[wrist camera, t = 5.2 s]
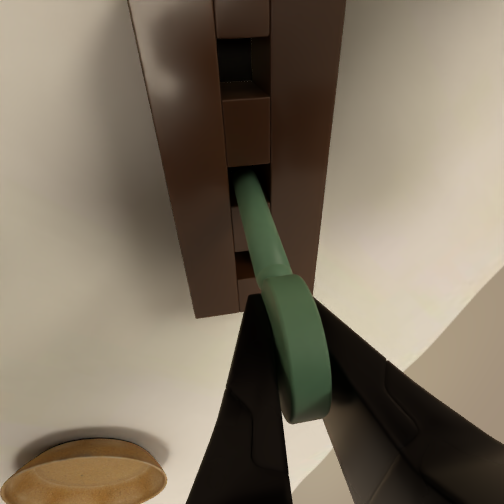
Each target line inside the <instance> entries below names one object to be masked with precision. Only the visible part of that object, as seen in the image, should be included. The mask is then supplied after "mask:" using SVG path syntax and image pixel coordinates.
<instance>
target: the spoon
mask: <svg viewBox="0 0 504 504" xmlns="http://www.w3.org/2000/svg"><path fill="white" fill-rule="evenodd" d="M233 187H234V191H235V195H236V199H237V203H238V207H239V211H240V215H241V220H242V224H243V228H244V232H245V236H246V240H247V244H248V249H249V253H250V257H251V261H252V265H253V269H254V273H255V277H256V282H257V284H258V287H259V288H260V289H261V295H262V299H263V302H264V305H265V308H266V311H267V314H268V317H269V320H270V323H271V328H272V336H273V344H274V353H275V361H276V370H277V378H278V387H279V395H280V404H281V411H282V413H283V415H284V417H285V419H286V421H287V422H288V423H290V424H296V423H302V422H307V421H312V420H317V419H322V418H324V417H325V416H327V415H328V413H329V411H330V407H331V400H332V378H331V367H330V359H329V353H328V347H327V342H326V337H325V333H324V329H323V325H322V322H321V318H320V315H319V312H318V309H317V306H316V303H315V301H314V298H313V296H312V294H311V292H310V290H309V288H308V286H307V284H306V283H305V281H304V280H303V279H302V278H301V277H300V276H299V275H296V274H293V273H292V270H291V267H290V264H289V262H288V259H287V256H286V254H285V251H284V248H283V245H282V243H281V240H280V237H279V235H278V232H277V229H276V226H275V224H274V221H273V218H272V216H271V213H270V210H269V207H268V205H267V202H266V199H265V197H264V194H263V191H262V189H261V186H260V183H259V180H258V178H257V175H256V174H255V172H254V171H253V170H251V169H249V168H242V169H239V170H238V171H236V173H235V174H234V176H233Z"/></svg>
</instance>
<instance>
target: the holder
mask: <svg viewBox="0 0 504 504" xmlns="http://www.w3.org/2000/svg"><path fill="white" fill-rule="evenodd" d="M127 2H128V7H129V11H130V16H131V21H132V25H133V30H134V34H135V39H136V44H137V48H138V53H139V58H140V62H141V67H142V72H143V76H144V81H145V86H146V90H147V95H148V100H149V104H150V109H151V113H152V118H153V123H154V127H155V132H156V137H157V141H158V146H159V151H160V155H161V160H162V165H163V169H164V174H165V178H166V183H167V188H168V192H169V197H170V202H171V206H172V211H173V216H174V220H175V225H176V230H177V234H178V239H179V243H180V248H181V253H182V257H183V262H184V267H185V271H186V276H187V281H188V285H189V290H190V295H191V299H192V304H193V309H194V313H195V318H196V319H198V318H205V317H212V316H218V315H225V314H232V313H239V312H244V310H245V306H246V302H247V298H248V295H251V294H257V293H260V294H261V289H260V288H259V287H258V284H257V282H256V277H255V273H254V269H253V265H252V261H251V257H250V253H249V249H248V244H247V240H246V236H245V232H244V228H243V224H242V220H241V215H240V211H239V207H238V203H237V199H236V195H235V191H234V187H233V176H234V174H235V173H236V171H238V170H232V171H228V170H227V167H237V166H248V165H255V169H254V168H253V169H251V170H253V171H254V172H255V174H256V175H257V178H258V180H259V183H260V186H261V189H262V191H263V194H264V197H265V199H266V202H267V205H268V207H269V210H270V213H271V216H272V218H273V221H274V224H275V226H276V229H277V232H278V235H279V237H280V240H281V243H282V245H283V248H284V251H285V254H286V256H287V259H288V262H289V264H290V267H291V270H292V273H293V274H296V275H299V276H300V277H301V278H302V279H303V280H304V281H305V283H306V284H307V286H308V288H309V290H310V292H311V294H312V296H313V288H314V279H315V270H316V261H317V253H318V244H319V235H320V226H321V218H322V209H323V200H324V191H325V183H326V174H327V165H328V156H329V147H330V139H331V130H332V121H333V112H334V104H335V95H336V86H337V77H338V69H339V60H340V51H341V42H342V33H343V25H344V16H345V7H346V0H127ZM216 38H217V39H236V38H251V61H252V81H251V80H247V81H232V82H220V78H219V66H218V55H217V43H216Z"/></svg>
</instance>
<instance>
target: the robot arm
mask: <svg viewBox="0 0 504 504" xmlns="http://www.w3.org/2000/svg"><path fill="white" fill-rule="evenodd" d="M313 298H314V297H313ZM314 301H315V303H316V306H317V309H318V312H319V315H320V318H321V322H322V325H323V329H324V333H325V337H326V342H327V347H328V353H329V359H330V367H331V378H332V400H331V407H330V411H329V413H328V415H327V416H325V417H324V418H322V419H323V421H324V424H325V427H326V429H327V432H328V435H329V437H330V440H331V443H332V445H333V448H334V450H335V453H336V456H337V458H338V461H339V464H340V466H341V469H342V472H343V474H344V477H345V479H346V482H347V485H348V487H349V490H350V493H351V495H352V498H353V501H354V503H355V504H504V444H502V443H501V442H499V441H497V440H495V439H494V438H492V437H491V436H489V435H487V434H486V433H485V432H483V431H482V430H480V429H479V428H478V427H476V426H475V425H473V424H472V423H471V422H469V421H468V420H466V419H465V418H464V417H462V416H461V415H459V414H458V413H457V412H455V411H454V410H452V409H451V408H450V407H448V406H447V405H445V404H444V403H442V402H441V401H439V400H438V399H437V398H435V397H434V396H433V395H431V394H430V393H429V392H427V391H426V390H425V389H423V388H422V387H421V386H419V385H418V384H417V383H415V382H414V381H413V380H412V379H410V378H409V377H408V376H406V375H405V374H404V373H403V372H402V371H400V370H399V369H398V368H397V367H396V366H394V365H393V364H392V363H391V362H390V361H386V358H385V357H384V356H382V355H381V354H380V353H379V352H378V351H377V350H375V349H374V348H373V347H372V346H371V345H370V344H368V343H367V342H366V341H365V340H364V339H362V338H361V337H360V336H359V335H358V334H357V333H355V332H354V331H353V330H352V329H351V328H349V327H348V326H347V325H346V324H345V323H344V322H342V321H341V320H340V319H339V318H338V317H336V316H335V315H334V314H333V313H332V312H331V311H329V310H328V309H327V308H326V307H325V306H323V305H322V304H321V303H320V302H319V301H318V300H316V299H315V298H314ZM288 474H289V472H288V463H287V455H286V446H285V438H284V429H283V421H282V412H281V404H280V395H279V387H278V378H277V370H276V361H275V353H274V344H273V336H272V328H271V323H270V320H269V317H268V314H267V311H266V308H265V305H264V302H263V299H262V295H261V294H260V293H257V294H251V295H248V298H247V302H246V306H245V310H244V314H243V318H242V322H241V326H240V331H239V335H238V339H237V343H236V347H235V351H234V355H233V359H232V364H231V368H230V372H229V376H228V380H227V384H226V389H225V392H224V396H223V400H222V404H221V407H220V411H219V414H218V418H217V421H216V424H215V427H214V430H213V433H212V436H211V439H210V442H209V444H208V447H207V450H206V452H205V455H204V457H203V460H202V463H201V465H200V468H199V471H198V473H197V476H196V478H195V481H194V484H193V486H192V489H191V491H190V494H189V496H188V499H187V501H186V504H293V503H292V496H291V488H290V480H289V476H288Z"/></svg>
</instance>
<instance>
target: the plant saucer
mask: <svg viewBox="0 0 504 504" xmlns="http://www.w3.org/2000/svg"><path fill="white" fill-rule="evenodd" d="M166 484H167V477H166V474H165V473H164V471H163V469H162V468H161V466H160V465H159V464H158V462H157V461H156V460H155V459H154V458H153V457H152V456H151V455H150V454H149V453H148V452H147V451H146V450H145V449H143V448H142V447H140V446H138V445H136V444H133V443H130V442H127V441H122V440H115V439H85V440H78V441H72V442H68V443H64V444H61V445H58V446H56V447H53V448H51V449H49V450H47V451H45V452H43V453H42V454H40V455H39V456H37V457H36V458H34V459H33V460H31V461H30V462H28V463H27V464H26V465H24V466H23V467H22V468H20V469H19V470H18V471H17V472H16V473H15V474H13V475H12V476H11V477H10V478H9V479H8V480H7V481H6V482H5V483H4V484H3V486H2V487H1V491H0V495H1V497H2V500H3V501H4V502H5V503H6V504H141V503H143V502H145V501H148V500H149V499H151V498H153V497H155V496H156V495H158V494H159V493H160V492H161V491H162V490H163V489H164V488H165V486H166Z"/></svg>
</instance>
